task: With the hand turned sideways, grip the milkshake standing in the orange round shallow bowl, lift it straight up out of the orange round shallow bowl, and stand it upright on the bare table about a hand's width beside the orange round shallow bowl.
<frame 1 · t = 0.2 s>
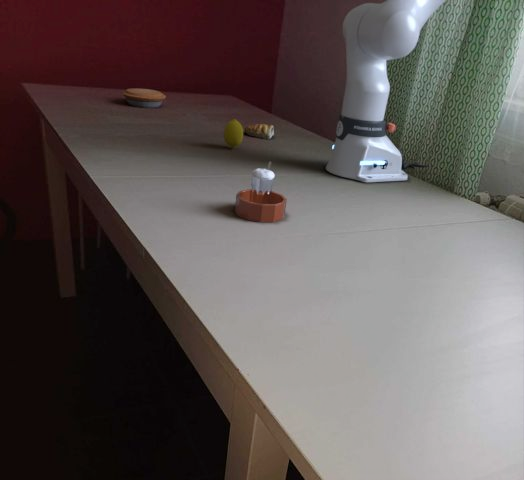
lemon: (232, 149, 156), on the table
orange round shallow bowl: (259, 213, 111), on the table
milkshake: (259, 214, 111), resting in orange round shallow bowl
pastry: (260, 136, 174), on the table
pie: (144, 105, 198), on the table
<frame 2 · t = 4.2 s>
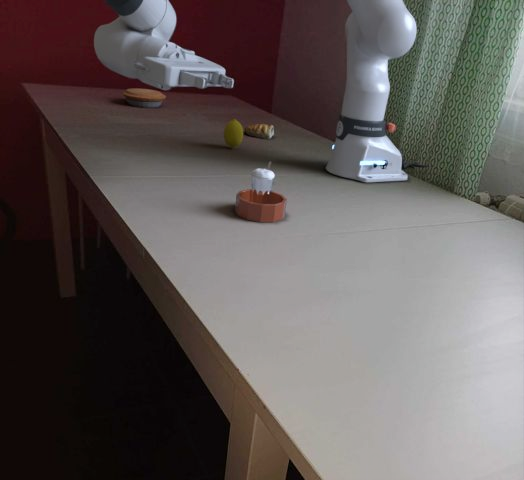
hand: (219, 84, 105), 22 cm above the table, tool horizontal, fingers open, 8 cm apart
nothing on the table moved.
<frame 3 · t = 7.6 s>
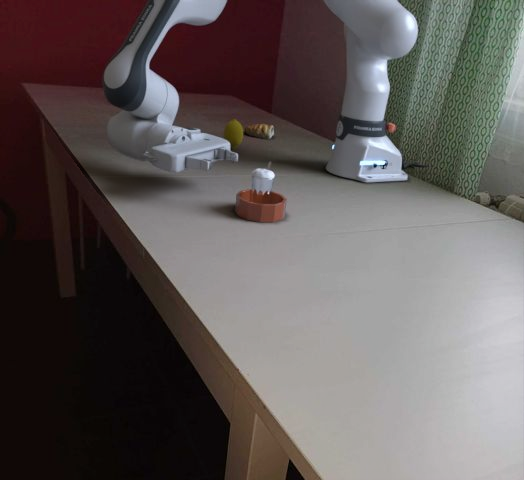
hand: (223, 161, 110), 8 cm above the table, tool horizontal, fingers open, 8 cm apart
nothing on the table moved.
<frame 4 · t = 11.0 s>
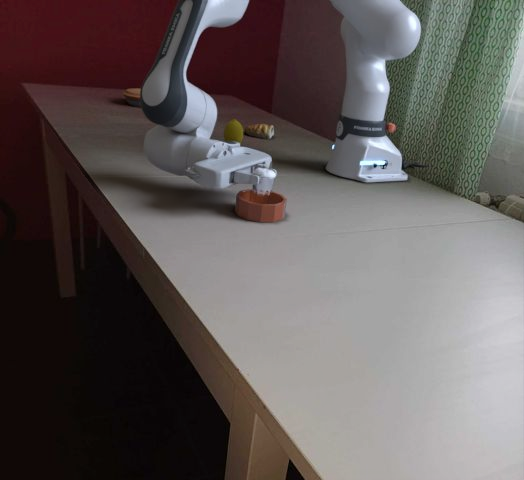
hand: (267, 177, 107), 8 cm above the table, tool horizontal, fingers closed on milkshake, 4 cm apart
milkshake: (259, 214, 111), resting in orange round shallow bowl, touching gripper
everything else where it was.
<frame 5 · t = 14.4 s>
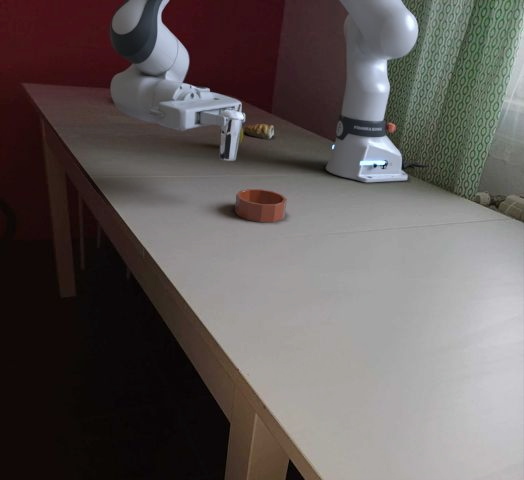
hand: (235, 120, 103), 17 cm above the table, tool horizontal, fingers closed on milkshake, 4 cm apart
milkshake: (228, 159, 108), point 9 cm above the table, touching gripper
everything else where it was.
when the fingers open (8 cm above the table, at t = 18.1 s): milkshake stays where it is, on the table.
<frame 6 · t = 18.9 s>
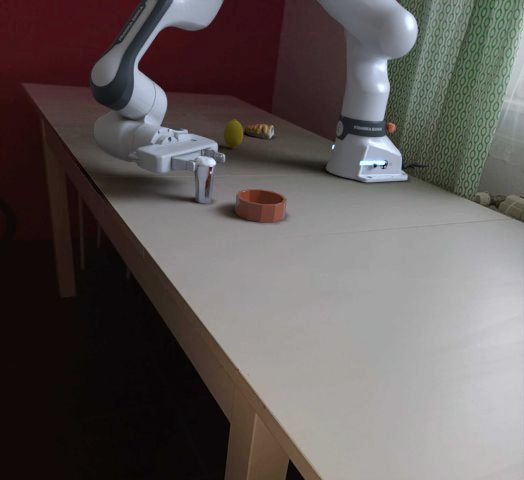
hand: (209, 162, 110), 8 cm above the table, tool horizontal, fingers open, 8 cm apart
milkshake: (204, 201, 114), on the table
everything else where it was.
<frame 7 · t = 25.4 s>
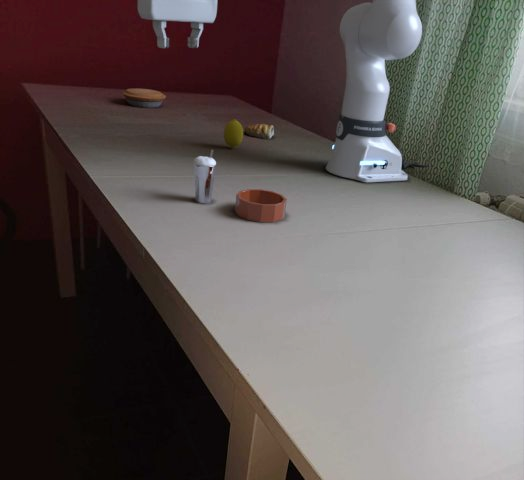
hand: (178, 47, 108), 27 cm above the table, tool pointing down, fingers open, 8 cm apart
nothing on the table moved.
at the end: milkshake inside the target area (0.1 cm from its centre), on the table; milkshake tilted 0°; the gripper is holding nothing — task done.
